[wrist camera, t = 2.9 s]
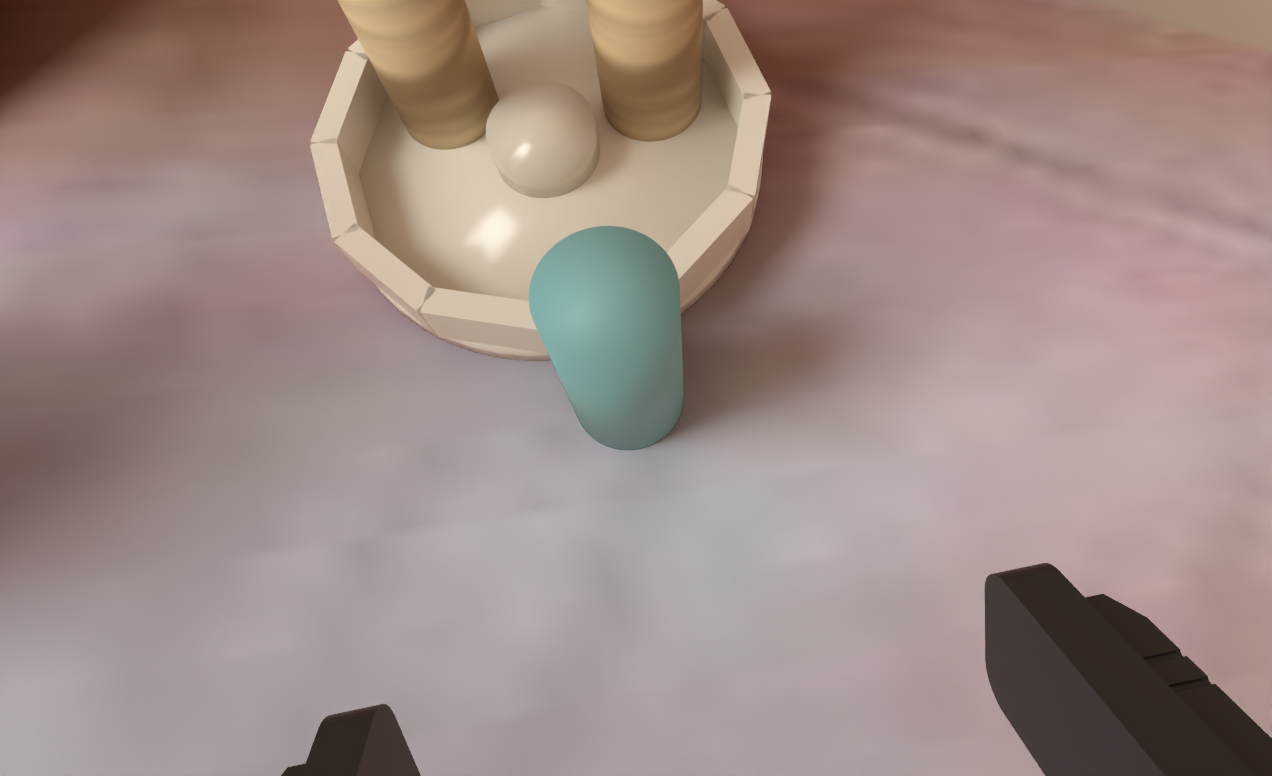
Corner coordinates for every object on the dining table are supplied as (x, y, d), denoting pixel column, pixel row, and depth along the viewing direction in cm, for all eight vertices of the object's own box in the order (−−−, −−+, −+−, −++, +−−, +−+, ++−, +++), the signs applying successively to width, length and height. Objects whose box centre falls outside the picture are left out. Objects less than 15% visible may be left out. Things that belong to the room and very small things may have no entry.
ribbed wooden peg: (692, 146, 37) (692, -34, 27) (594, 135, 37) (560, -45, 28) (708, 66, 38) (713, -131, 29) (613, 56, 39) (587, -139, 29)
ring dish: (727, 393, 34) (730, 360, 30) (292, 325, 36) (249, 289, 33) (786, 26, 40) (794, -34, 37) (414, -7, 43) (390, -67, 39)
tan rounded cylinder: (485, 155, 37) (414, -18, 28) (391, 143, 38) (291, -30, 29) (509, 75, 39) (449, -114, 29) (418, 66, 39) (332, -123, 30)
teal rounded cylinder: (673, 458, 33) (665, 373, 23) (563, 440, 33) (512, 349, 24) (692, 354, 34) (691, 235, 25) (587, 339, 35) (547, 217, 26)
